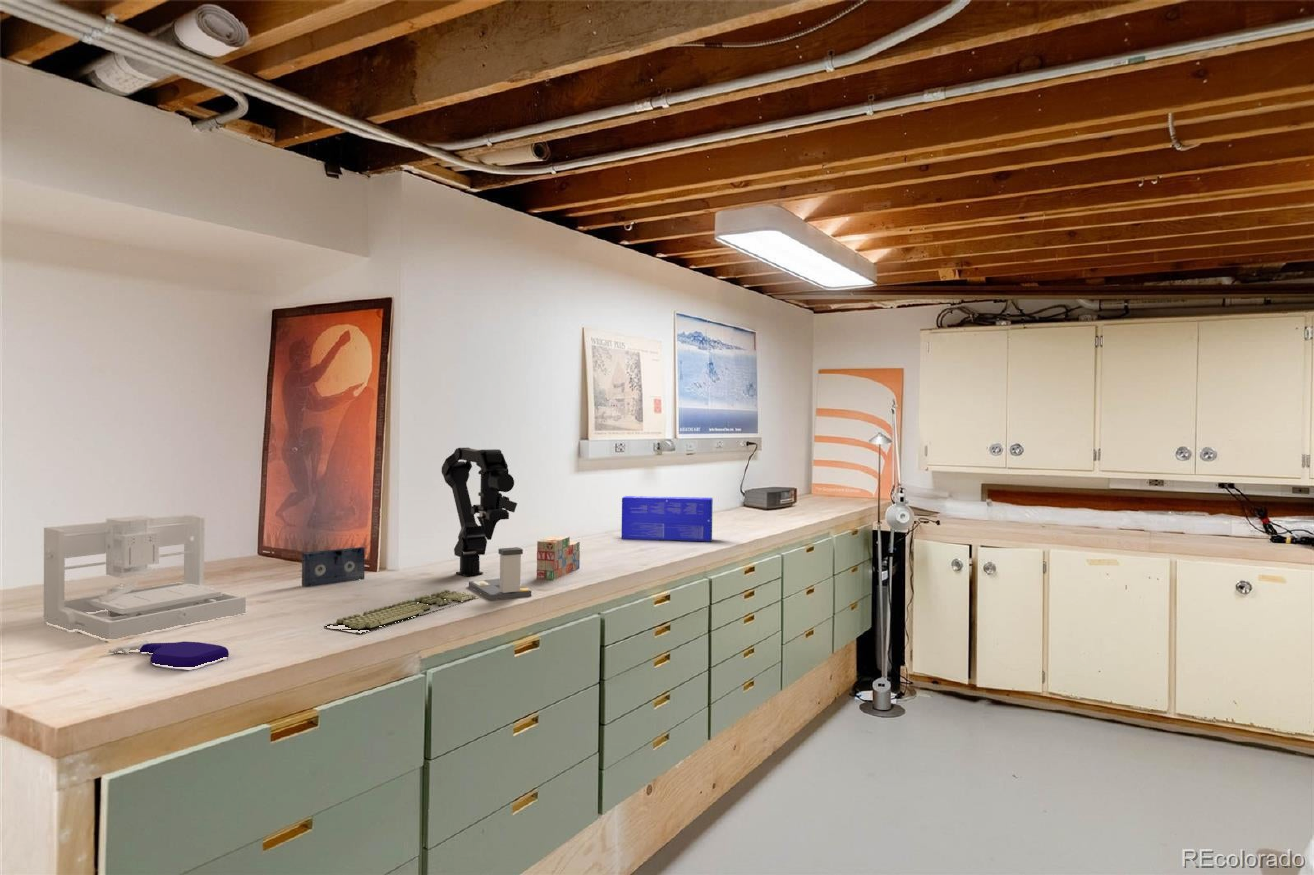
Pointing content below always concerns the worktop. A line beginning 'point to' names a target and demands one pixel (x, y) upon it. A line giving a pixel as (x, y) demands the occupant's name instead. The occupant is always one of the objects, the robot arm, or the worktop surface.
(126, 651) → the dark purple flat pad
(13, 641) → the worktop surface
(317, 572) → the vhs cassette tape
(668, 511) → the toner cartridge box
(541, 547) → the stack of blocks
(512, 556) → the lever
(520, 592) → the switch panel
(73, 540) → the 3d printer
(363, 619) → the keyboard
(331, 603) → the worktop surface
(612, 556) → the worktop surface
